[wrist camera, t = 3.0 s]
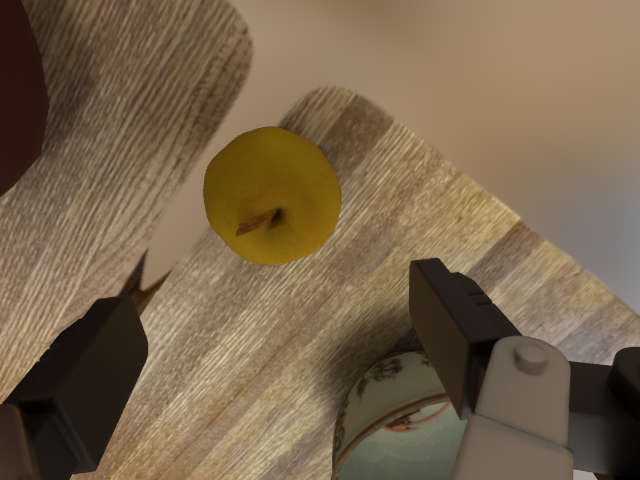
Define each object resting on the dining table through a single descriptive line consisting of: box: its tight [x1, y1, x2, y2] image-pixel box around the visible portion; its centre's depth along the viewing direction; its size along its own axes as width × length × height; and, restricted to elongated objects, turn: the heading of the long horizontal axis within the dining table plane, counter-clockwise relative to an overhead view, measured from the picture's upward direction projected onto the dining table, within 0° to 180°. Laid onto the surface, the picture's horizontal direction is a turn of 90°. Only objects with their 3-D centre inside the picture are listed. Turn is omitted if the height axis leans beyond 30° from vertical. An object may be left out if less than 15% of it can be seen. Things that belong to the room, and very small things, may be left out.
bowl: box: [331, 351, 468, 480], centre depth 26 cm, size 14×13×8 cm
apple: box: [203, 127, 341, 265], centre depth 18 cm, size 6×6×8 cm
